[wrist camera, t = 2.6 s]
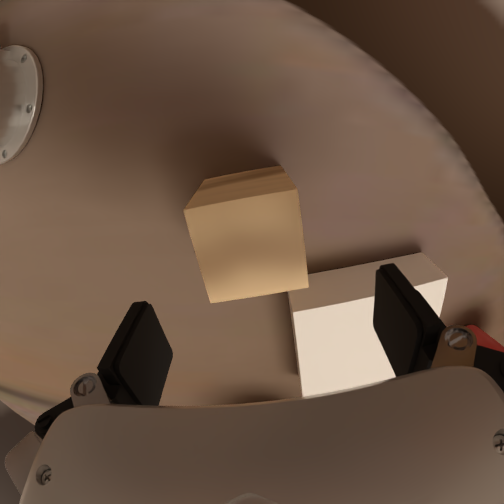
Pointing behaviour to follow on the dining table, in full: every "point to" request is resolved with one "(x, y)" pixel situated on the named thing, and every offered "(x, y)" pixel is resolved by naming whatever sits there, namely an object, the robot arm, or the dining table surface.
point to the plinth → (350, 323)
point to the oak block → (248, 234)
